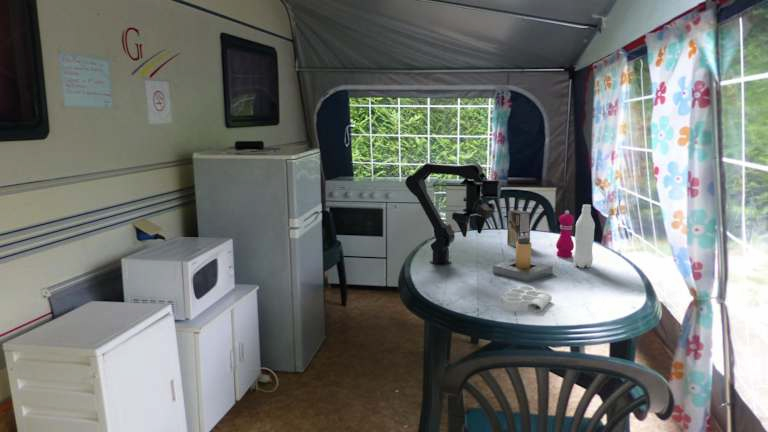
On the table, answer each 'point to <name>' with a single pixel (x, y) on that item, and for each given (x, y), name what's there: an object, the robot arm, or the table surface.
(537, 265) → the grey square frame
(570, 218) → the pepper mill
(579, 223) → the water bottle
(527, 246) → the plug
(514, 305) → the white flat lumpy part
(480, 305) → the table surface
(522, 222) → the coffee box
